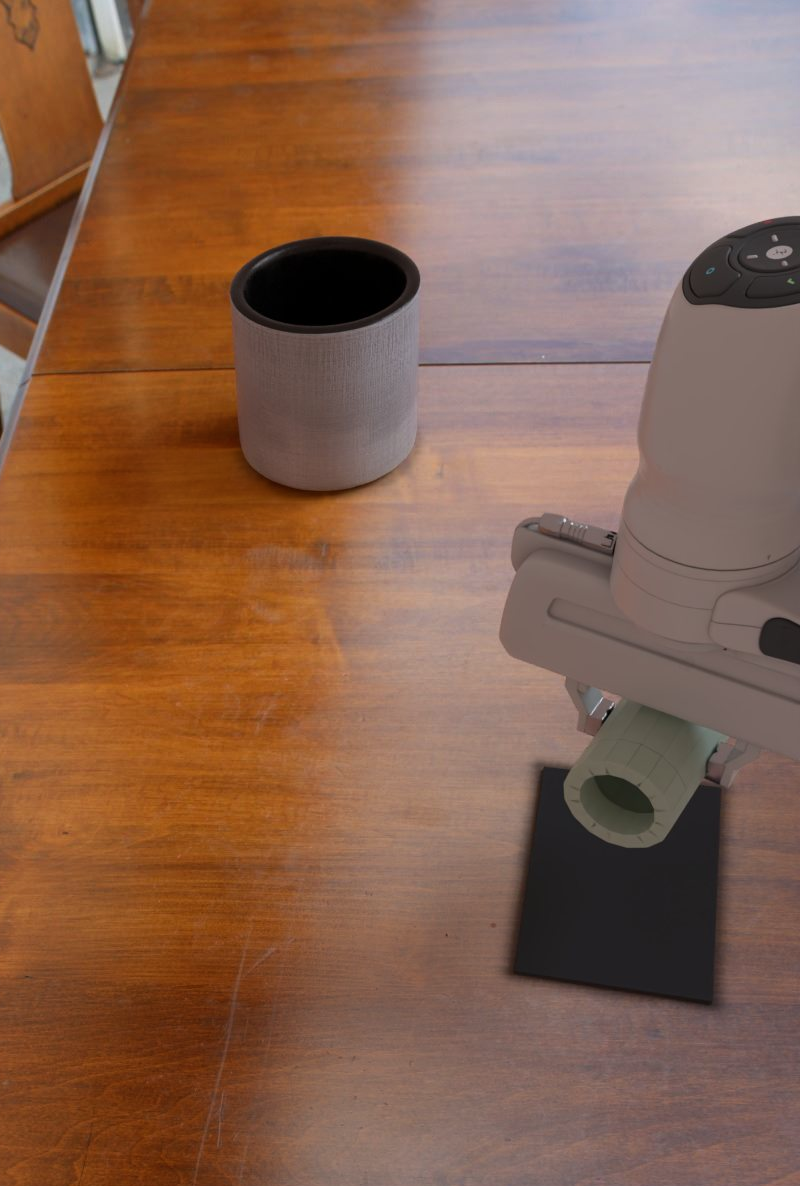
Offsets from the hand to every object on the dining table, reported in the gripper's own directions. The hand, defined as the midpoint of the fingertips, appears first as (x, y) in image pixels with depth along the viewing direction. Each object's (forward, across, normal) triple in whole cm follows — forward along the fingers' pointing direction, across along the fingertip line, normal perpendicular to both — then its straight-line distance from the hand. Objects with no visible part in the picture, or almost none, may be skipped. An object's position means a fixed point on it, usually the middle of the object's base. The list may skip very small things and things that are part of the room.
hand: (656, 752), depth 78 cm
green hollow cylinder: (-1, 0, +7) cm, 7 cm away
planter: (+13, -44, +33) cm, 56 cm away
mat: (+13, 0, 0) cm, 13 cm away
